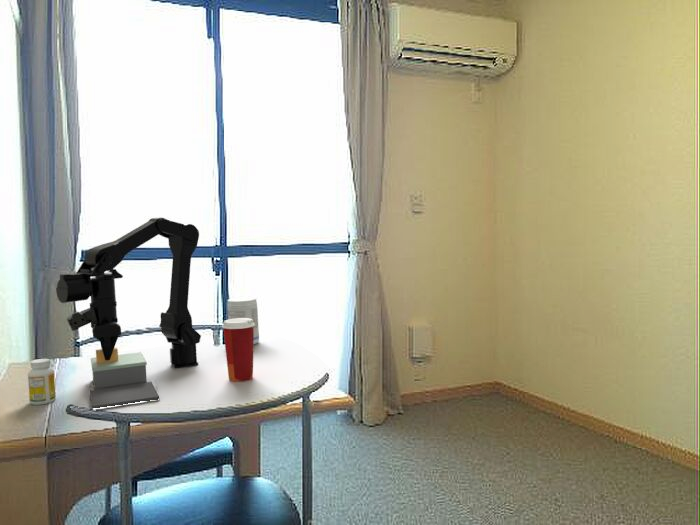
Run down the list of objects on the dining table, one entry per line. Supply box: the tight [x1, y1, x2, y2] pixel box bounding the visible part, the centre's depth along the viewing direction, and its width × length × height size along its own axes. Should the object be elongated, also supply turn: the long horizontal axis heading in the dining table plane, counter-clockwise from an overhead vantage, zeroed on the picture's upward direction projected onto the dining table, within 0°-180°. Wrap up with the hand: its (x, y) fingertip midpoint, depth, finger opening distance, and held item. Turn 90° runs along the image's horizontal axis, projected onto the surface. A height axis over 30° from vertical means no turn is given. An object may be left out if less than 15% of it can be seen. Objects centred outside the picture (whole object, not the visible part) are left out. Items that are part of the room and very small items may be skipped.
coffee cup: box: [221, 318, 255, 383], centre depth 151 cm, size 8×8×15 cm
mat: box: [89, 381, 160, 409], centre depth 138 cm, size 14×14×1 cm
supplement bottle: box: [27, 358, 57, 406], centre depth 136 cm, size 5×5×10 cm
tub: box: [91, 365, 148, 390], centre depth 151 cm, size 12×12×5 cm
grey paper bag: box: [226, 296, 260, 346], centre depth 193 cm, size 10×10×15 cm
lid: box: [90, 347, 148, 373], centre depth 151 cm, size 12×12×5 cm
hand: (107, 359), depth 150 cm, fingers closed on lid
